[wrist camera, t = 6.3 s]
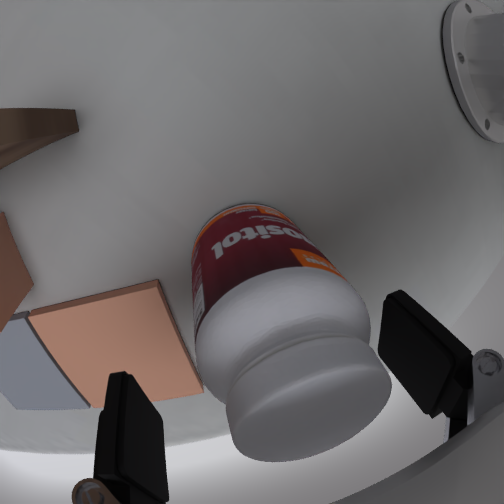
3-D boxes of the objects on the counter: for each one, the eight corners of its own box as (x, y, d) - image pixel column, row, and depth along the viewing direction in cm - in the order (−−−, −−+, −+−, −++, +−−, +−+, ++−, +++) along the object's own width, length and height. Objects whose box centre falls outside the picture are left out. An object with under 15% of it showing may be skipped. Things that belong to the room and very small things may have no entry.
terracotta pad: (157, 279, 16) (156, 286, 15) (203, 384, 20) (203, 392, 20) (32, 310, 15) (27, 317, 14) (95, 400, 19) (93, 407, 19)
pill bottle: (306, 203, 16) (450, 323, 6) (290, 298, 19) (371, 446, 9) (191, 198, 15) (201, 359, 5) (190, 301, 17) (207, 480, 7)
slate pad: (28, 311, 15) (23, 318, 14) (91, 401, 19) (89, 408, 19) (-40, 327, 14) (-44, 332, 13) (18, 403, 18) (16, 409, 18)
